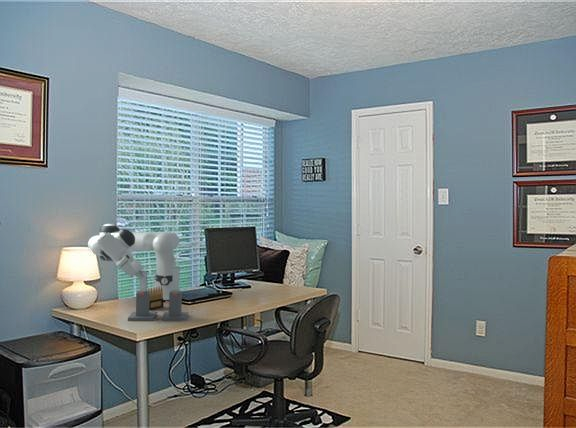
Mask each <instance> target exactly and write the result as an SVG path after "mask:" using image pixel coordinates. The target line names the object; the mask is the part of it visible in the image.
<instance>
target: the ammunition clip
mask: <svg viewBox="0 0 576 428" xmlns="http://www.w3.org/2000/svg"><path fill="white" fill-rule="evenodd" d="M147 291H150V304H149V311H154V310H159V309H161V308H164V300H163V289H162V286H161V289H160V287H158V290H157V287H156V289H155V288H153V287H147ZM152 292H153V293H152Z"/></svg>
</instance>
